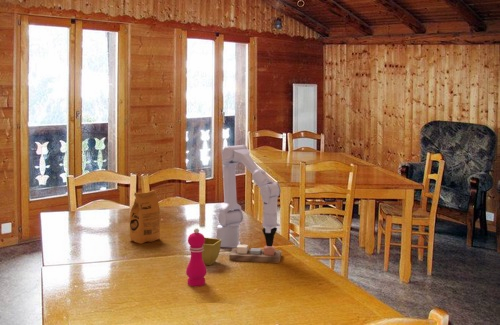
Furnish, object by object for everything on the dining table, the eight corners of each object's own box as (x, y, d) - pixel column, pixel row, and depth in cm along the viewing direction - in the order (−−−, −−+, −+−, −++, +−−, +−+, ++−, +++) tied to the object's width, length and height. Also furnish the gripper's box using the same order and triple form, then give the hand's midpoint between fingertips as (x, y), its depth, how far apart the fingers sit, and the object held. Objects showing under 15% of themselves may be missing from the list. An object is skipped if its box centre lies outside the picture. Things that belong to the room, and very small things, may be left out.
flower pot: (221, 261, 240) (221, 239, 239) (213, 267, 232) (213, 244, 231) (201, 258, 243) (201, 236, 242) (192, 264, 235) (192, 242, 233)
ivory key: (236, 254, 244) (236, 247, 243) (238, 251, 248) (238, 244, 247) (246, 254, 243) (246, 247, 243) (247, 251, 247) (247, 244, 247)
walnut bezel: (229, 260, 241) (229, 254, 241) (233, 252, 251) (233, 247, 251) (279, 262, 239) (279, 257, 238) (281, 255, 249) (281, 250, 248)
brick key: (263, 255, 242) (263, 248, 242) (264, 252, 246) (265, 245, 246) (273, 256, 242) (273, 248, 241) (274, 253, 246) (274, 246, 245)
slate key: (250, 257, 243) (250, 250, 243) (251, 254, 247) (251, 247, 247) (260, 258, 243) (260, 251, 242) (261, 255, 247) (261, 248, 246)
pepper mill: (186, 280, 217) (186, 226, 214) (206, 280, 218) (206, 225, 215) (185, 287, 210) (185, 231, 207) (206, 286, 210) (206, 231, 208)
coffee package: (126, 240, 269) (125, 191, 265) (150, 235, 277) (149, 188, 274) (139, 244, 261) (138, 194, 258) (162, 239, 270) (162, 191, 267)
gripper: (278, 217, 234) (277, 251, 236) (281, 209, 248) (280, 241, 250) (260, 216, 235) (259, 250, 237) (264, 208, 249) (263, 240, 251)
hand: (269, 246), depth 243 cm, fingers closed
